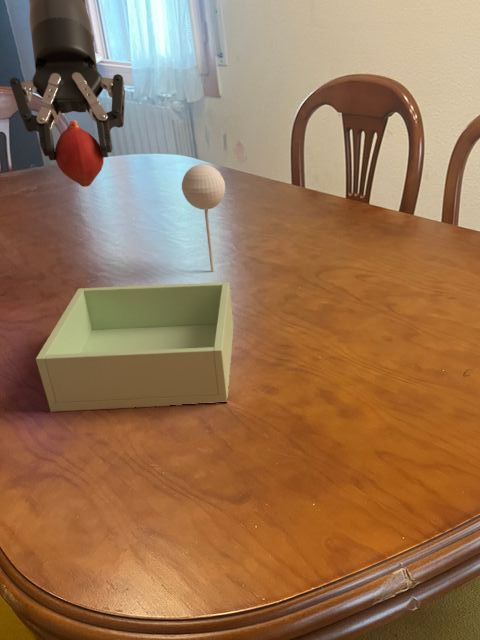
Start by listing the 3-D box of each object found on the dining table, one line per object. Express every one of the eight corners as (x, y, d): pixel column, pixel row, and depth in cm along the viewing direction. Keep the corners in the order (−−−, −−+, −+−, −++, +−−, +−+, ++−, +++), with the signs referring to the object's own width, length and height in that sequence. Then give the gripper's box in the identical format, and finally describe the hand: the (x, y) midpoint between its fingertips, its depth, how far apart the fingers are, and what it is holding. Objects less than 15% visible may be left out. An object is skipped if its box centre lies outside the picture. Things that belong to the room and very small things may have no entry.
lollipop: (208, 261, 101) (196, 158, 93) (240, 267, 99) (231, 162, 91) (184, 275, 96) (169, 167, 88) (217, 281, 94) (206, 171, 86)
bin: (50, 412, 66) (35, 358, 62) (88, 334, 80) (78, 288, 77) (227, 403, 67) (221, 350, 63) (233, 328, 81) (229, 282, 78)
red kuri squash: (52, 188, 85) (37, 121, 81) (88, 179, 89) (75, 114, 85) (82, 194, 82) (67, 125, 78) (117, 184, 86) (105, 118, 82)
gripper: (-6, 16, 80) (8, 139, 77) (116, 14, 83) (134, 133, 80) (11, 61, 87) (25, 176, 84) (123, 58, 90) (139, 169, 87)
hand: (78, 154), depth 82 cm, fingers closed on red kuri squash, 5 cm apart
